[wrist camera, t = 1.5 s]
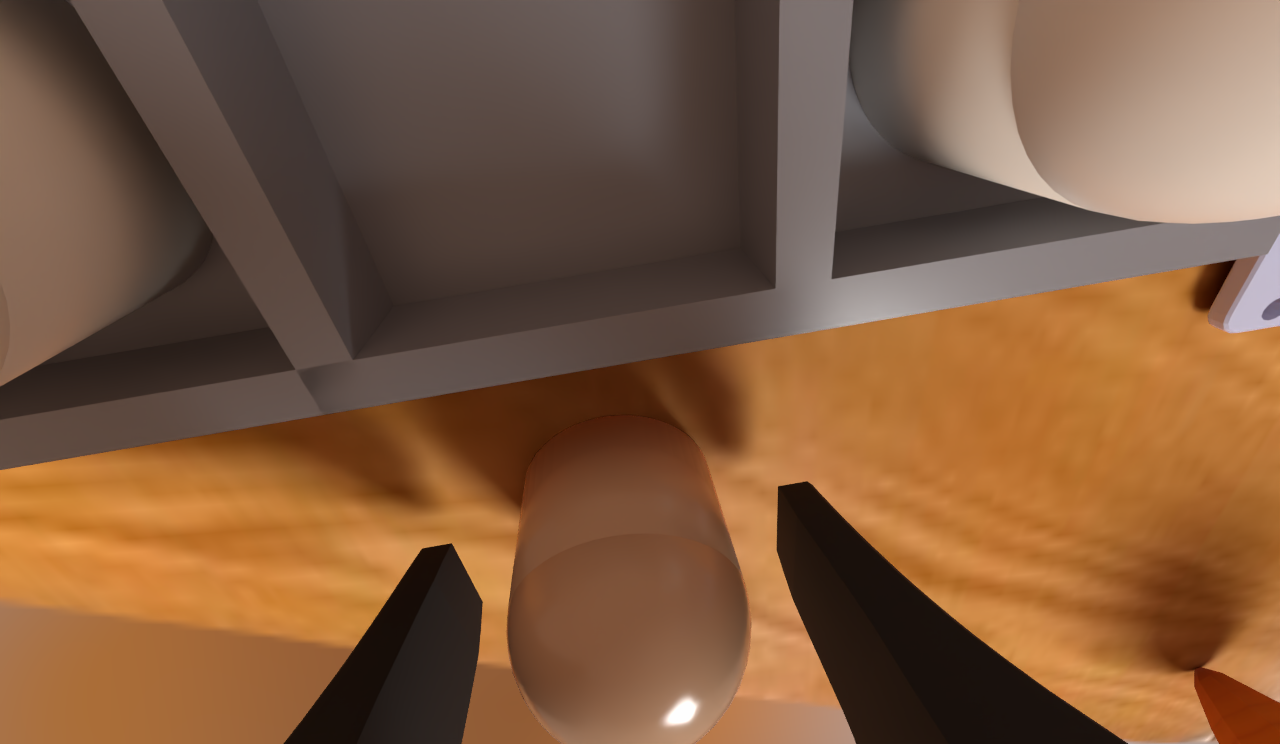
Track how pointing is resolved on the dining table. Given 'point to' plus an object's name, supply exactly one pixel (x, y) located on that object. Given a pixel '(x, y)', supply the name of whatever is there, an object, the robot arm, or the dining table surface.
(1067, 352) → the dining table surface
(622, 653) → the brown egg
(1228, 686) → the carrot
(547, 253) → the egg carton
